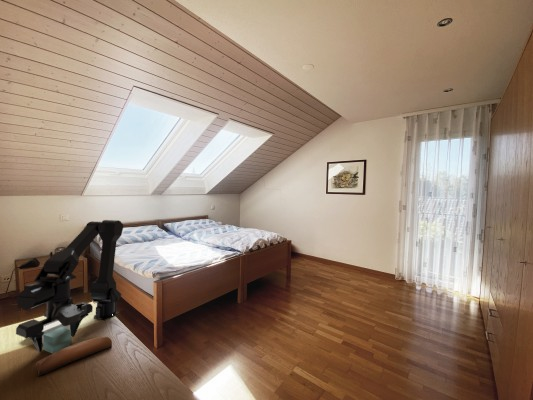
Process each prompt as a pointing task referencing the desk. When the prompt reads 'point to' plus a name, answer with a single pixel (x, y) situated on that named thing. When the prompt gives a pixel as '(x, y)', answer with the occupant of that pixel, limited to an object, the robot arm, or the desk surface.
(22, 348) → the desk surface
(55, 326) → the large white block
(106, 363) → the desk surface
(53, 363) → the sunglasses case
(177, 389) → the desk surface
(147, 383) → the desk surface
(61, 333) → the teal cube
